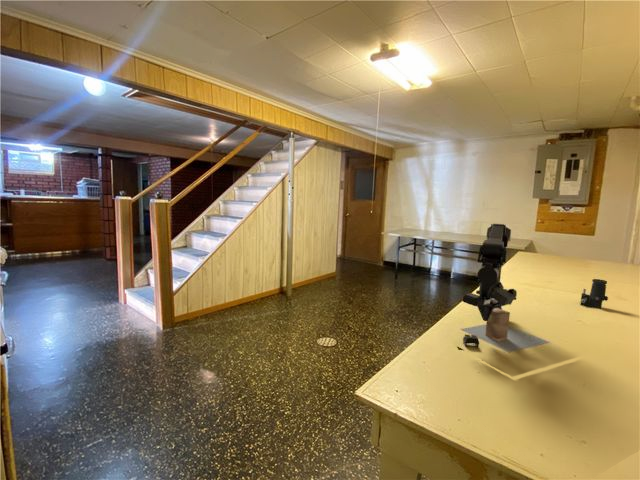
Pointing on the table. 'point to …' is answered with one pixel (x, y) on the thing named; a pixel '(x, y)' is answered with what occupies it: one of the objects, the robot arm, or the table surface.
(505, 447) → the table surface
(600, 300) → the scope
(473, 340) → the black mounting bracket
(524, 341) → the slate mat
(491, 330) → the walnut post
